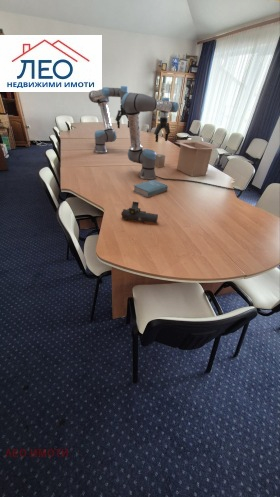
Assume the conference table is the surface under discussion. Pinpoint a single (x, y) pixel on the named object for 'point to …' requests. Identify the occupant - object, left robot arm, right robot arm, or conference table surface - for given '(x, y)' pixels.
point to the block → (159, 160)
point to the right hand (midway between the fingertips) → (161, 141)
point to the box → (194, 157)
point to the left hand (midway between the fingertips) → (123, 128)
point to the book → (150, 188)
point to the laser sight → (138, 214)
